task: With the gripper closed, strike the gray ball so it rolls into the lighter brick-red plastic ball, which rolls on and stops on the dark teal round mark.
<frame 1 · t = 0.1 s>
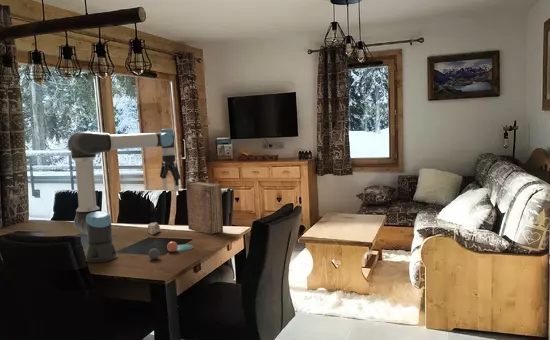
hand: (170, 190, 269), 28 cm above the table, tool pointing down, fingers open, 13 cm apart
mineral specimen: (153, 233, 282), on the table
object ball: (172, 246, 237), on the table
gray ball: (154, 253, 225), on the table
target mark: (181, 248, 244), on the table
book: (205, 230, 283), on the table
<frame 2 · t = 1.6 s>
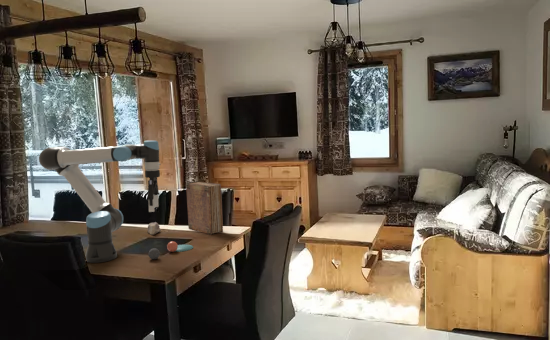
hand: (153, 209, 240), 22 cm above the table, tool pointing down, fingers open, 13 cm apart
nothing on the table moved.
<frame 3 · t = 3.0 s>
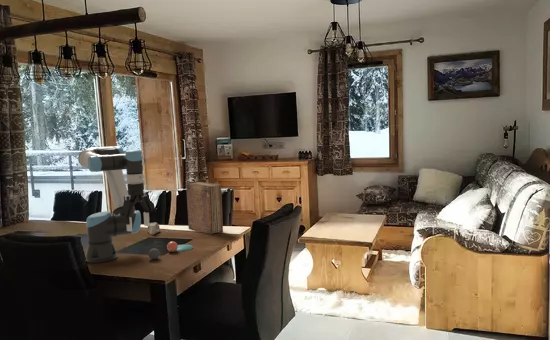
hand: (138, 228, 215), 18 cm above the table, tool pointing down, fingers open, 11 cm apart
nothing on the table moved.
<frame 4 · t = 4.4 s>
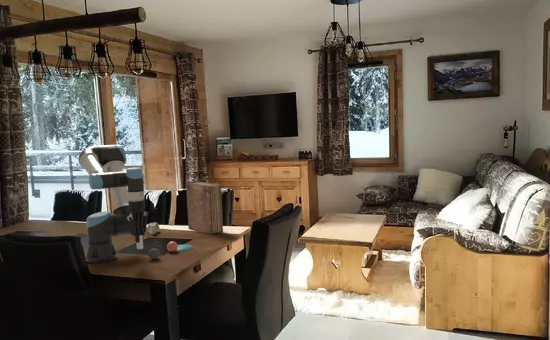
hand: (139, 248, 216), 8 cm above the table, tool pointing down, fingers closed
nothing on the table moved.
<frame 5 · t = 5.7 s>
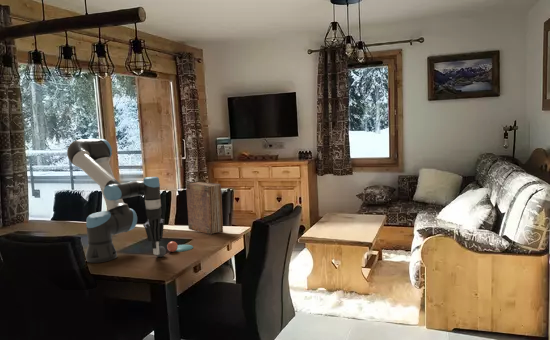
hand: (156, 254, 225), 2 cm above the table, tool pointing down, fingers closed
gray ball: (160, 251, 229), on the table, touching gripper
everything else where it was.
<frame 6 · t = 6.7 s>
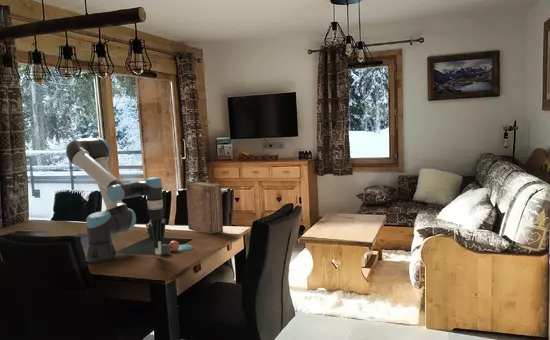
hand: (158, 253, 228), 2 cm above the table, tool pointing down, fingers closed
object ball: (173, 245, 239), on the table
gray ball: (164, 249, 233), on the table
everything else where it was.
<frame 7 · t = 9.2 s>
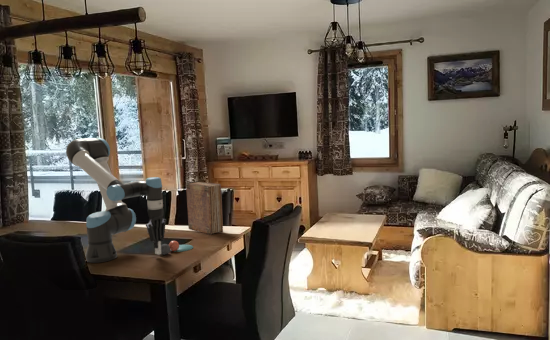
hand: (158, 253, 228), 2 cm above the table, tool pointing down, fingers closed
nothing on the table moved.
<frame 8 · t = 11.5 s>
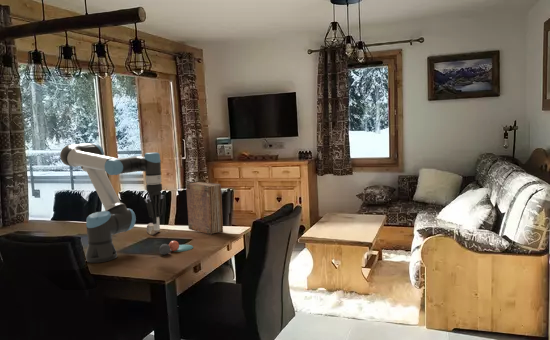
hand: (156, 229, 226), 14 cm above the table, tool pointing down, fingers closed
nothing on the table moved.
at the end: object ball 5.6 cm from the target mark (horizontally); object ball never touched the robot; gray ball first touched object ball at 6.1 s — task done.
